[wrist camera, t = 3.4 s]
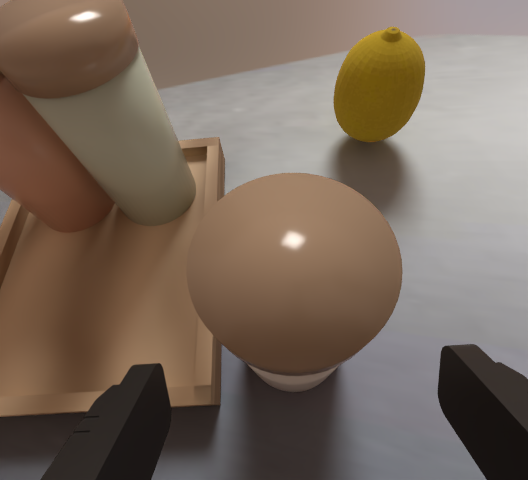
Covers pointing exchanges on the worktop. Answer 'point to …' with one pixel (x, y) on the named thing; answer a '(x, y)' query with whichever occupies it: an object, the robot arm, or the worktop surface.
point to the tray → (105, 304)
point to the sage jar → (98, 100)
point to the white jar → (294, 276)
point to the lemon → (379, 85)
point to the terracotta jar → (45, 169)
